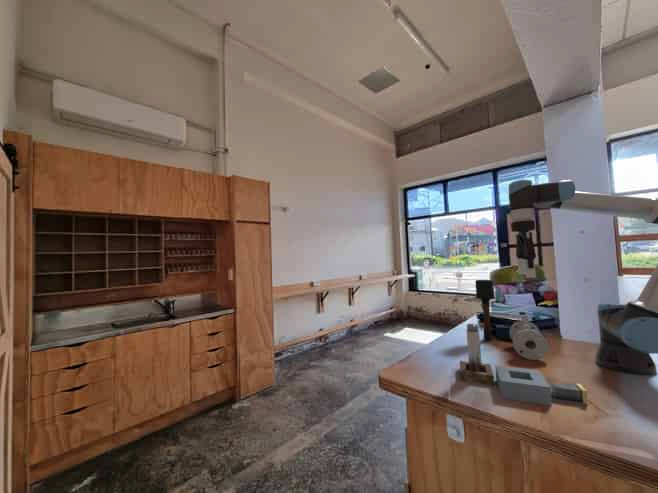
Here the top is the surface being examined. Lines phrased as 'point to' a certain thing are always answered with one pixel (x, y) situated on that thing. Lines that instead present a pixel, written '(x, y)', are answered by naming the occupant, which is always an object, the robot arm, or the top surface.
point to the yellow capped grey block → (569, 392)
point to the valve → (528, 339)
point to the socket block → (525, 385)
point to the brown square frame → (476, 374)
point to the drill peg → (474, 348)
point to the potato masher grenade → (485, 303)
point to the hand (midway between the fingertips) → (526, 276)
